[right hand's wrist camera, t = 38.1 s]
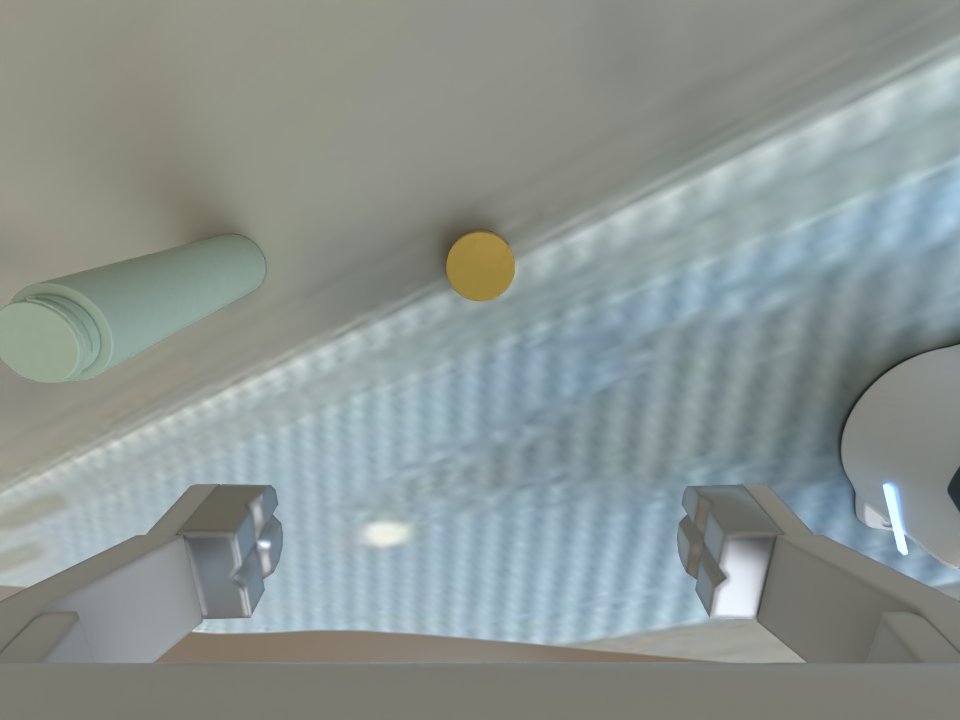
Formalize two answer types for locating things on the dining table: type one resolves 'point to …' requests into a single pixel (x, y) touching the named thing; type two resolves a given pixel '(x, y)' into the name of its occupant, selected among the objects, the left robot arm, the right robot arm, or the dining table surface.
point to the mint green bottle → (123, 307)
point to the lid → (480, 265)
